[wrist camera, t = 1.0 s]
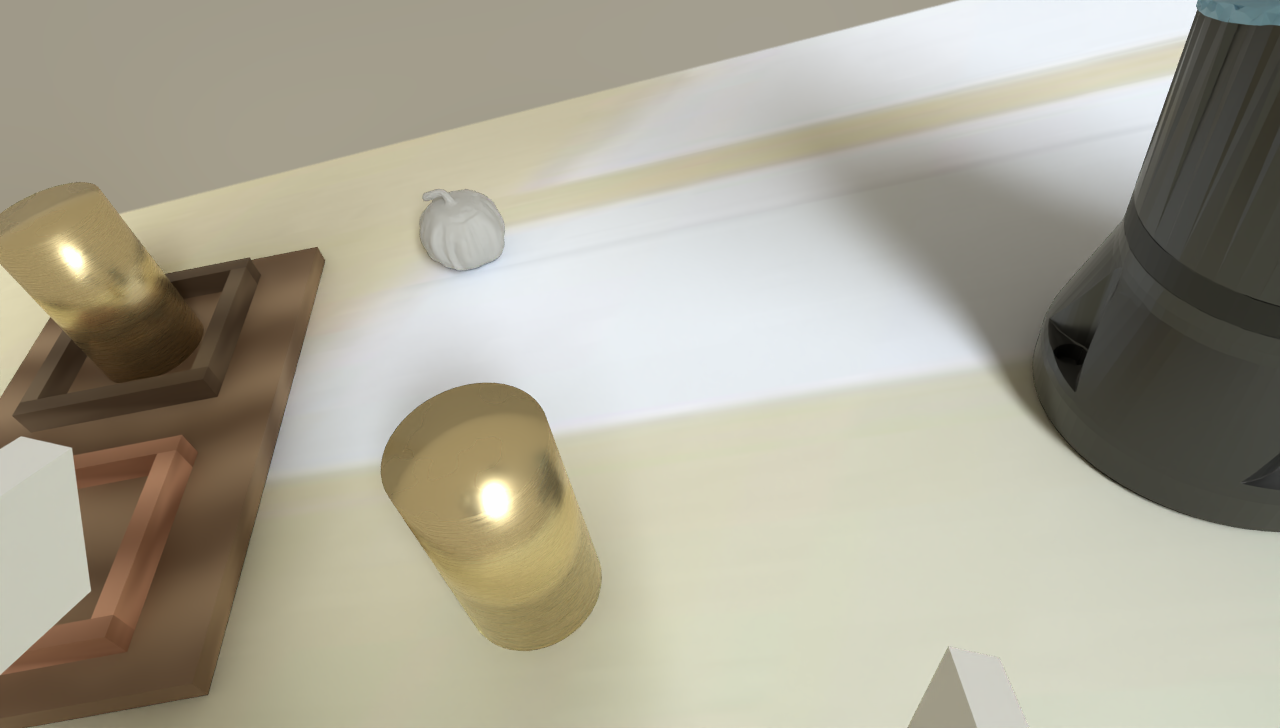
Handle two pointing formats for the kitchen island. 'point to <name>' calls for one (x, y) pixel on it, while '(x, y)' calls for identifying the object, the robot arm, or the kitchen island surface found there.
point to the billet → (97, 282)
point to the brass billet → (495, 512)
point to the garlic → (461, 229)
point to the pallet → (159, 490)
